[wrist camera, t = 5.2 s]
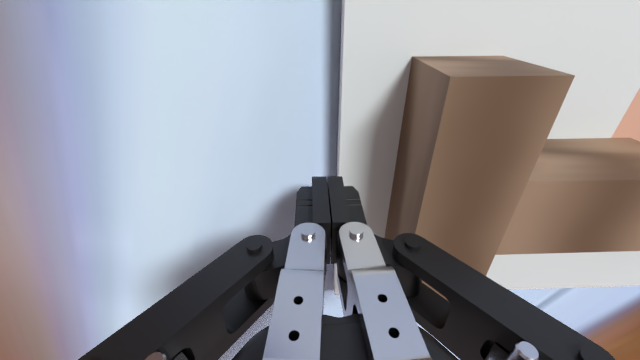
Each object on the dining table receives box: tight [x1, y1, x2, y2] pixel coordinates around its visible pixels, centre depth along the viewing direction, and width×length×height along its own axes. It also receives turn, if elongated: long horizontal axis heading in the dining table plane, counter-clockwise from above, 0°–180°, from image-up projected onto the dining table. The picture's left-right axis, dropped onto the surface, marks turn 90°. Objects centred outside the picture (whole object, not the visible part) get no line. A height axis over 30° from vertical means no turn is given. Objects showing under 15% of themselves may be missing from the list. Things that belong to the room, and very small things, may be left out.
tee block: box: [384, 56, 640, 302], centre depth 14 cm, size 12×12×4 cm
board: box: [334, 0, 640, 295], centre depth 16 cm, size 28×20×1 cm
